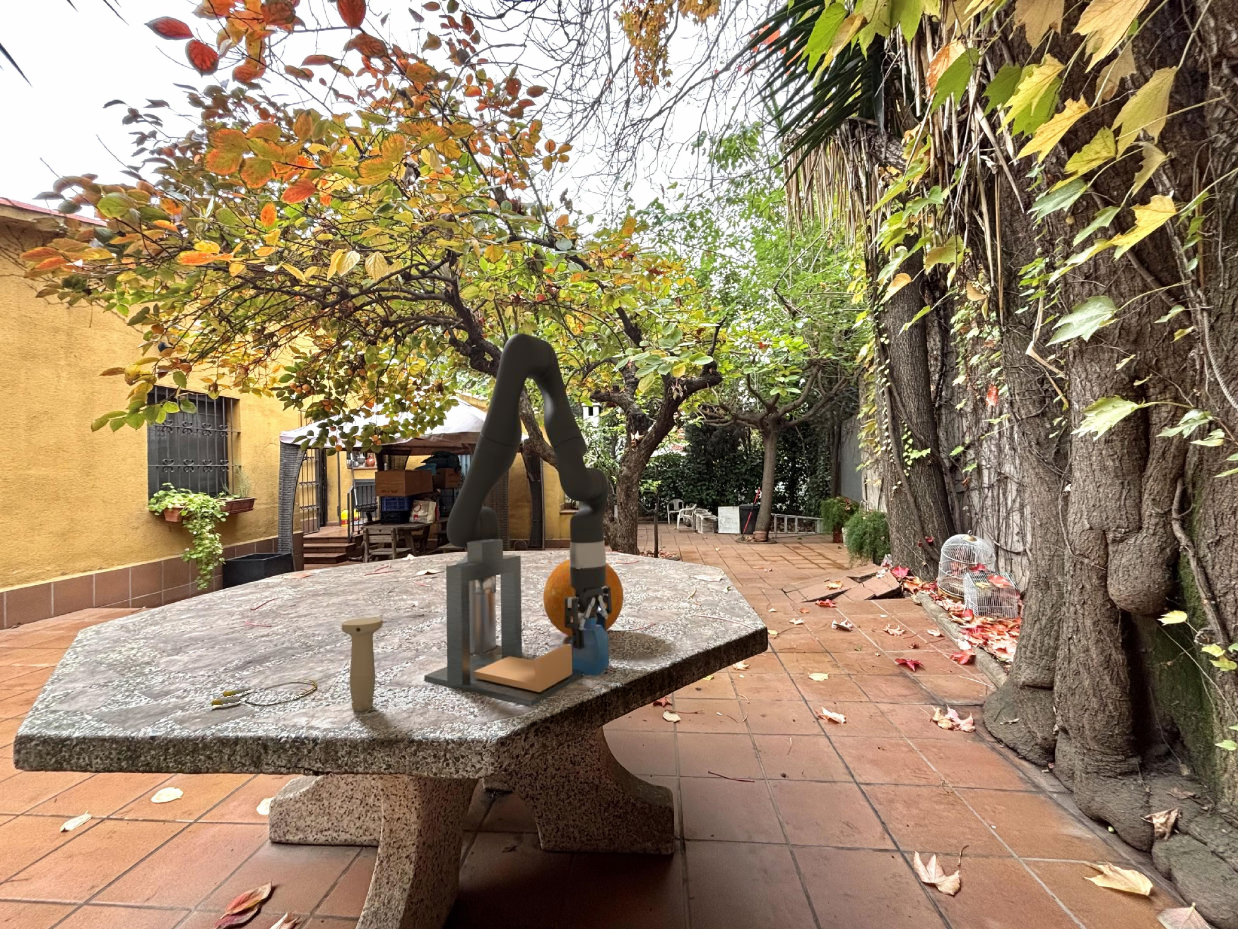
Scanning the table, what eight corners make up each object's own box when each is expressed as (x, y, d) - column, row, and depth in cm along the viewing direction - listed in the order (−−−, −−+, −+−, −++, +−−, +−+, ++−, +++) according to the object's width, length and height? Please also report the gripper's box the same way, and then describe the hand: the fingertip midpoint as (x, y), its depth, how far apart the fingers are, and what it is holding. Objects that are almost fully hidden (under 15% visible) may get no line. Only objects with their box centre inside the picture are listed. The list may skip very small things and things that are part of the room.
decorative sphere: (545, 628, 142) (543, 552, 142) (619, 624, 144) (618, 550, 145) (542, 651, 122) (541, 563, 123) (629, 646, 124) (627, 560, 125)
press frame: (422, 681, 105) (421, 543, 106) (484, 656, 119) (482, 535, 120) (529, 707, 91) (527, 549, 92) (584, 675, 106) (581, 539, 107)
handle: (347, 704, 94) (346, 619, 95) (385, 701, 95) (385, 616, 96) (338, 716, 89) (337, 626, 90) (378, 712, 91) (378, 623, 91)
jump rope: (247, 687, 105) (247, 676, 105) (328, 683, 106) (328, 673, 106) (201, 713, 93) (201, 701, 93) (294, 709, 94) (294, 697, 94)
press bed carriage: (474, 677, 102) (473, 647, 103) (509, 661, 111) (508, 634, 111) (539, 692, 95) (539, 659, 95) (572, 674, 103) (571, 644, 103)
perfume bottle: (609, 665, 111) (607, 608, 112) (598, 676, 106) (597, 615, 106) (581, 663, 113) (580, 606, 114) (569, 673, 108) (568, 613, 108)
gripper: (591, 558, 118) (593, 631, 118) (552, 567, 106) (554, 650, 105) (620, 559, 114) (623, 635, 114) (583, 569, 102) (586, 655, 101)
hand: (590, 642), depth 110 cm, fingers open, 8 cm apart
